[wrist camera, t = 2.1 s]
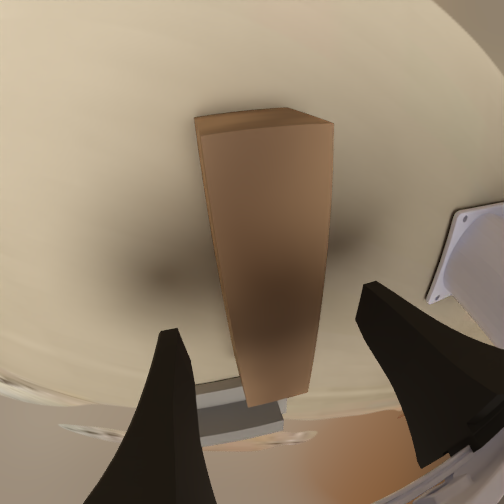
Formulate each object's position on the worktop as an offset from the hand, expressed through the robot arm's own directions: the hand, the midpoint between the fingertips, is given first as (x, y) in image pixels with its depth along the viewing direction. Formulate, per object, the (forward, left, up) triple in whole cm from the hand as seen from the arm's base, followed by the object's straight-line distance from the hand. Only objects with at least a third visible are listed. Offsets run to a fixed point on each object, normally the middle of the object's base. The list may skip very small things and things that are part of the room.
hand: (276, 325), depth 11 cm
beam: (0, 0, -4) cm, 4 cm away
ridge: (+3, +13, -4) cm, 14 cm away
